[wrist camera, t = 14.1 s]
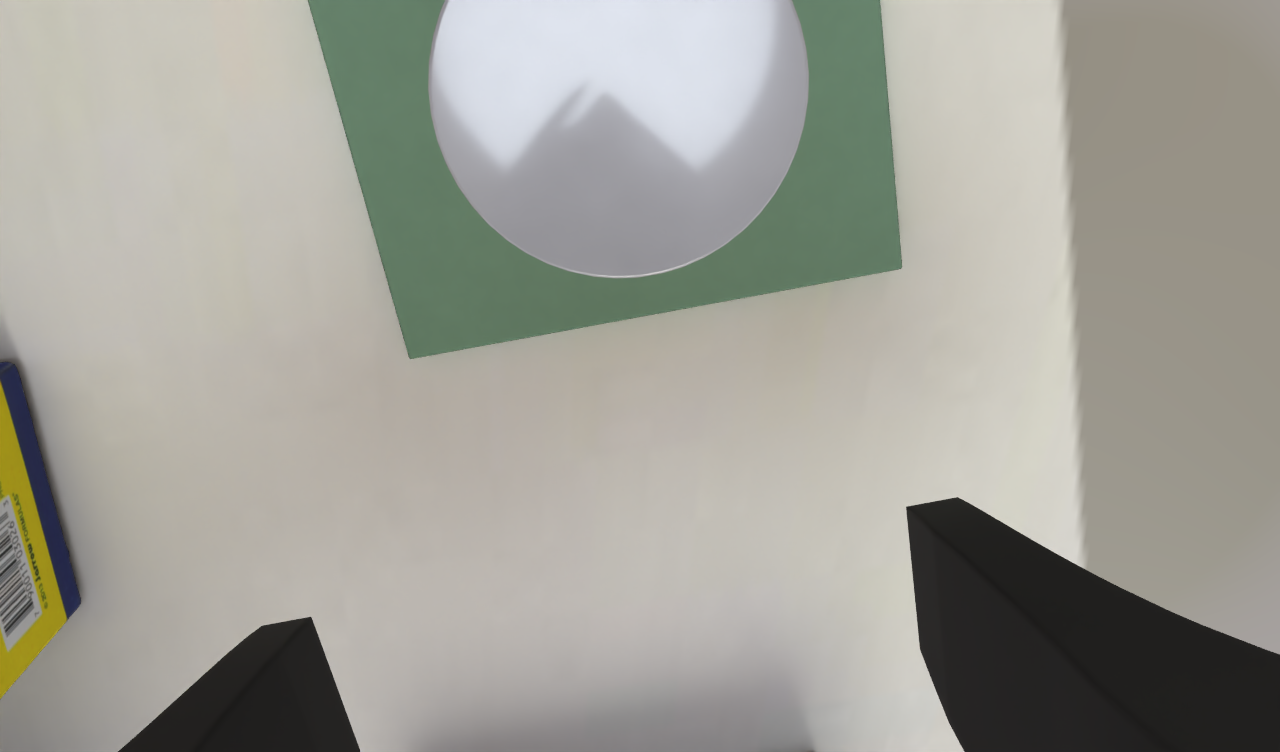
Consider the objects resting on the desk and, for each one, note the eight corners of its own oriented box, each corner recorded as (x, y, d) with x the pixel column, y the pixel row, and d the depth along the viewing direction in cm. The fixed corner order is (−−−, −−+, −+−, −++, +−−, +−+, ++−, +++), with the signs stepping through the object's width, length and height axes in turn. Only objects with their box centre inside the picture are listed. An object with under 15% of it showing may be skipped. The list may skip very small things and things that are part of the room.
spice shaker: (565, 219, 19) (550, 340, 12) (441, 3, 18) (351, 12, 11) (771, 106, 18) (868, 172, 12) (661, -128, 17) (704, -200, 10)
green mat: (412, 352, 20) (409, 360, 20) (257, -198, 17) (249, -202, 16) (897, 263, 20) (902, 269, 20) (848, -316, 16) (854, -323, 16)
